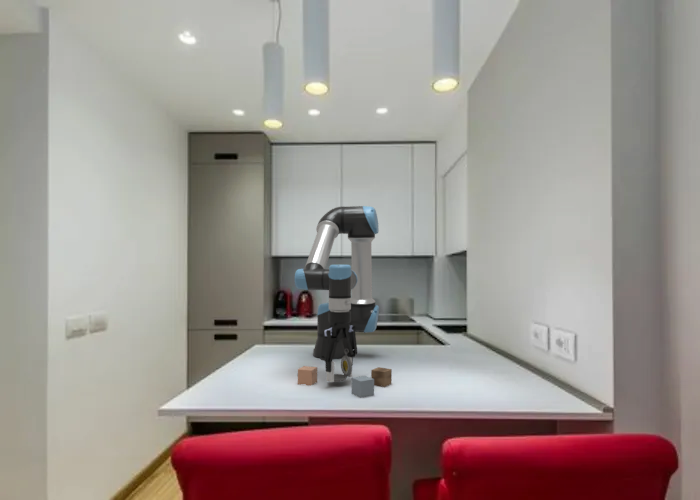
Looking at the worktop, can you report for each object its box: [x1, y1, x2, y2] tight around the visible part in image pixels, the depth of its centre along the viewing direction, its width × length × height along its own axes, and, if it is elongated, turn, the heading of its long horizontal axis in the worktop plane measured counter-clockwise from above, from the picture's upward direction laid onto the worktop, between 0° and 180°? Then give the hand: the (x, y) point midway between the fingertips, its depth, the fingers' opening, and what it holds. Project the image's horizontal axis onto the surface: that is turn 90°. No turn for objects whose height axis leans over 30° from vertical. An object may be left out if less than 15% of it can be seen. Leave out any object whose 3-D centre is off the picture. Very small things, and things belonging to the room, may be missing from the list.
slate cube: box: [351, 375, 375, 399], centre depth 139 cm, size 5×5×5 cm
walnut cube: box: [370, 366, 393, 388], centre depth 150 cm, size 5×5×5 cm
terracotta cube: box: [297, 365, 318, 386], centre depth 152 cm, size 5×5×5 cm
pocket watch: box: [333, 349, 353, 383], centre depth 151 cm, size 8×8×10 cm
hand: (339, 378), depth 150 cm, fingers closed on pocket watch, 8 cm apart
